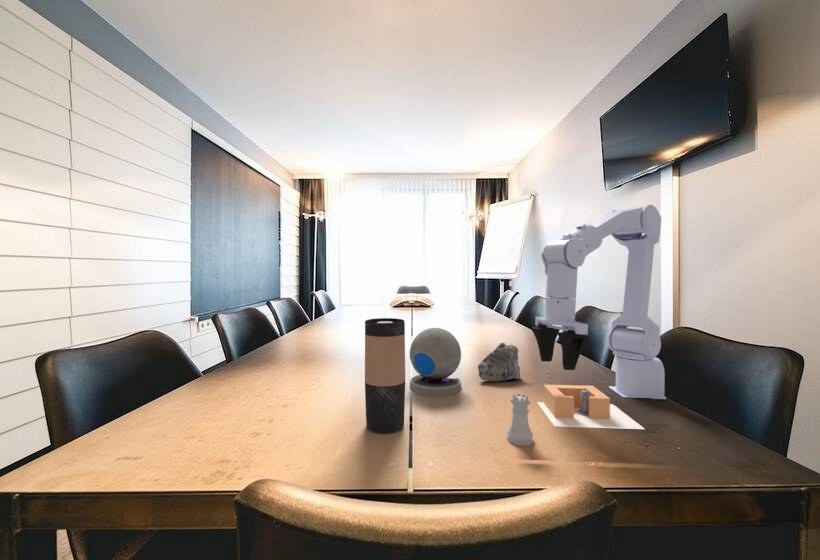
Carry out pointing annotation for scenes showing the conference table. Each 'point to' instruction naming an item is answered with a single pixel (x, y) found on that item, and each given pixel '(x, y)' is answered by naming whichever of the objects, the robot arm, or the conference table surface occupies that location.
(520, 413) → the rook chess piece
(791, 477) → the conference table surface
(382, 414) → the travel mug
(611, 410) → the stand
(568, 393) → the c link
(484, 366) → the mineral rock
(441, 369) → the webcam
